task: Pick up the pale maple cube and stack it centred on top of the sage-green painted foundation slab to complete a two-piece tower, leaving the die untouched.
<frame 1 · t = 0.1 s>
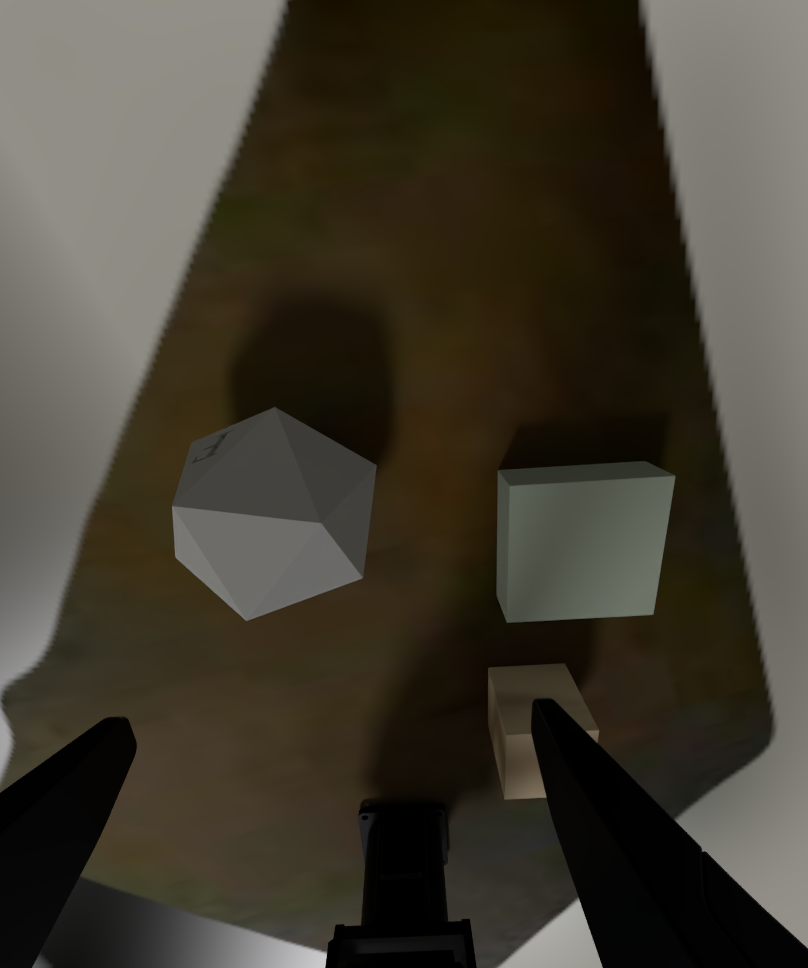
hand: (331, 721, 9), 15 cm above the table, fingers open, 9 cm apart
foundation slab: (564, 529, 24), on the table
die: (299, 481, 23), on the table
maple cube: (524, 694, 28), on the table
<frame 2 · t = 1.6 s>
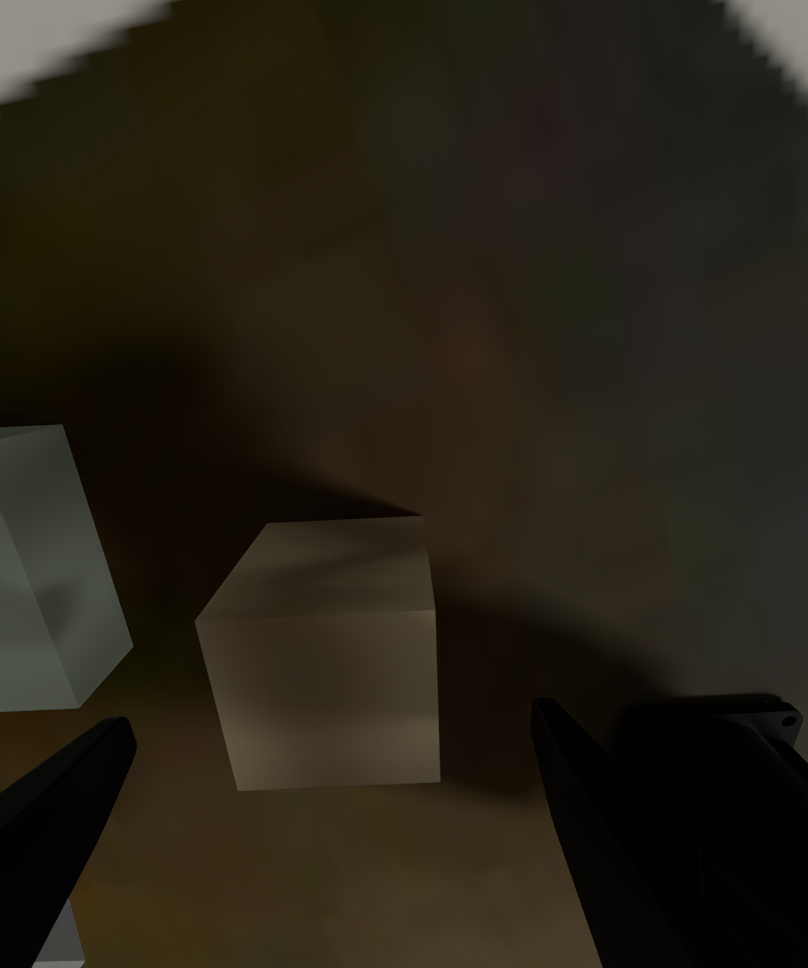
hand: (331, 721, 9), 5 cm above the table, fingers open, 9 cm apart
die: (24, 850, 19), on the table
maple cube: (352, 585, 14), on the table
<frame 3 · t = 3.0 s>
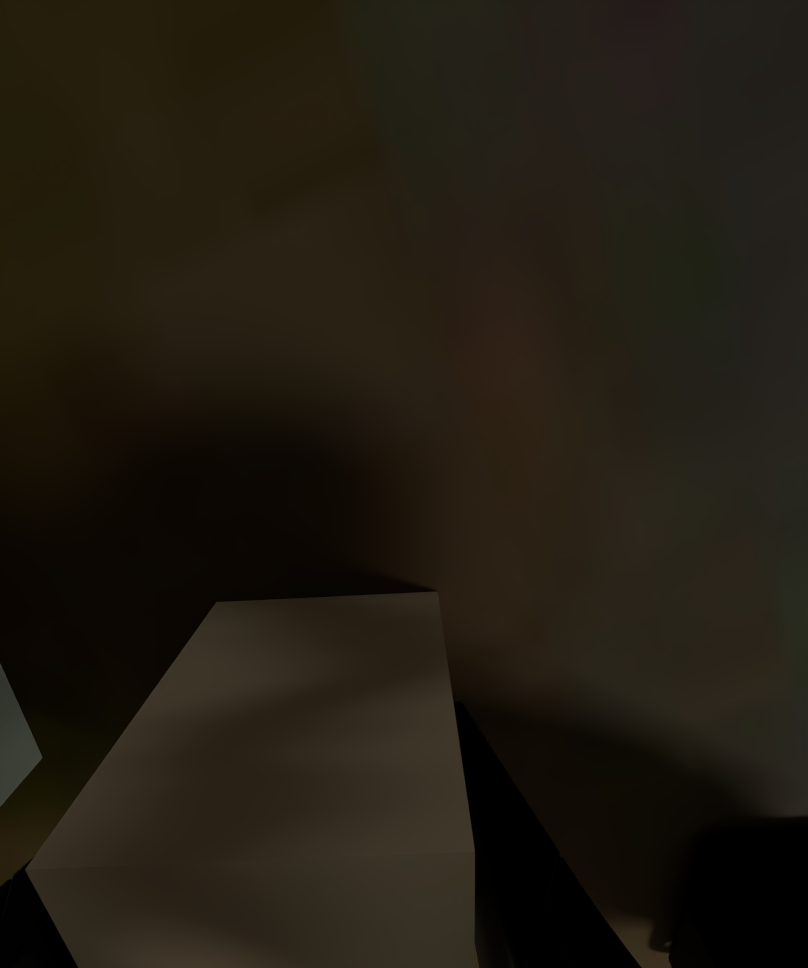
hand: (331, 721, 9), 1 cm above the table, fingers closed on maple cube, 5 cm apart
maple cube: (338, 684, 10), on the table, touching gripper
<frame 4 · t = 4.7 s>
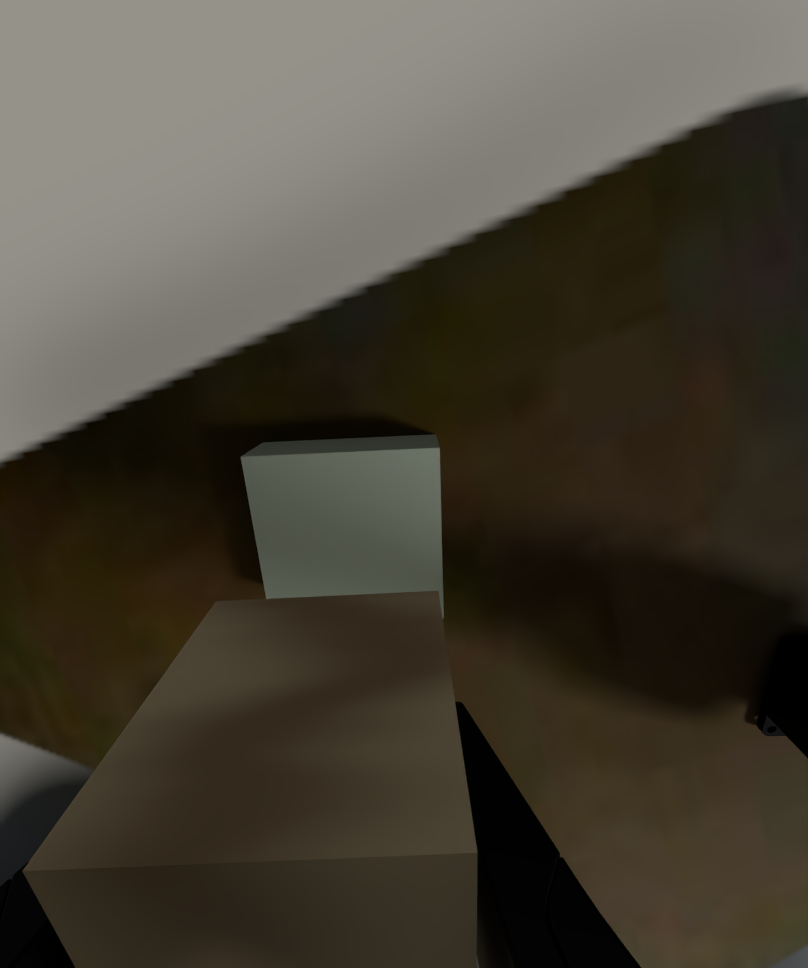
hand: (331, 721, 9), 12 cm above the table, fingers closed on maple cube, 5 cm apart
foundation slab: (357, 515, 21), on the table
maple cube: (338, 683, 10), point 11 cm above the table, touching gripper
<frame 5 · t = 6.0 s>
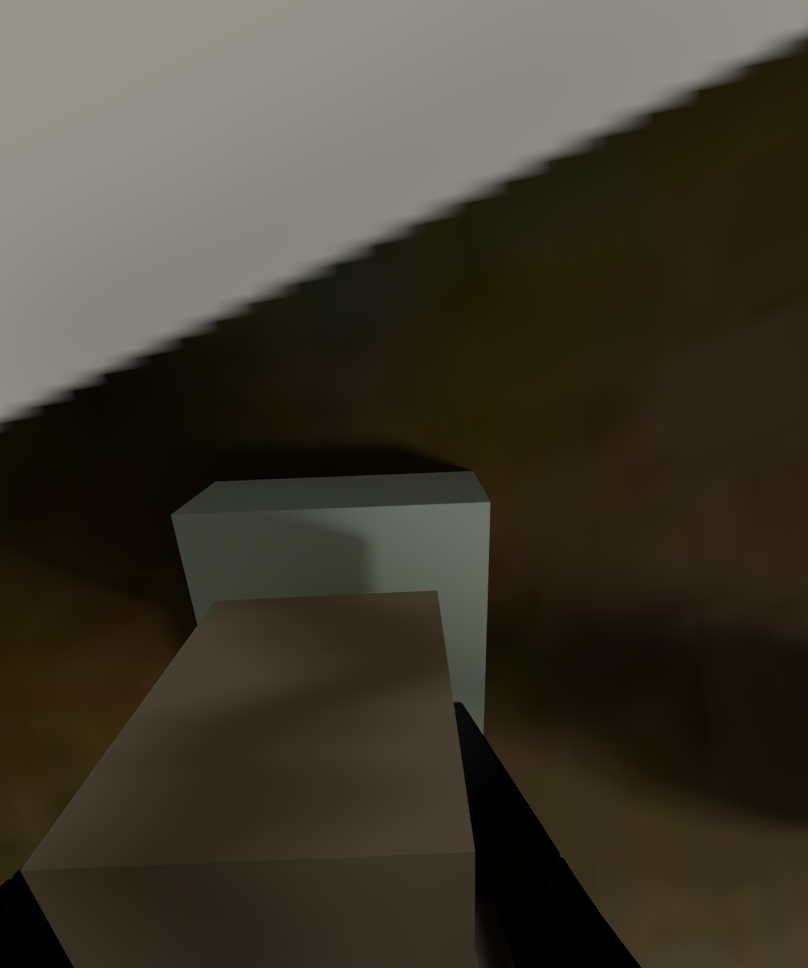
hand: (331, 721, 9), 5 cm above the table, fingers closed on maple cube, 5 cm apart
foundation slab: (355, 581, 14), on the table
maple cube: (337, 683, 10), point 4 cm above the table, touching gripper
when the fingers open (5 cm above the table, at t = 6.6 s): maple cube drops 2 cm, resting on foundation slab.
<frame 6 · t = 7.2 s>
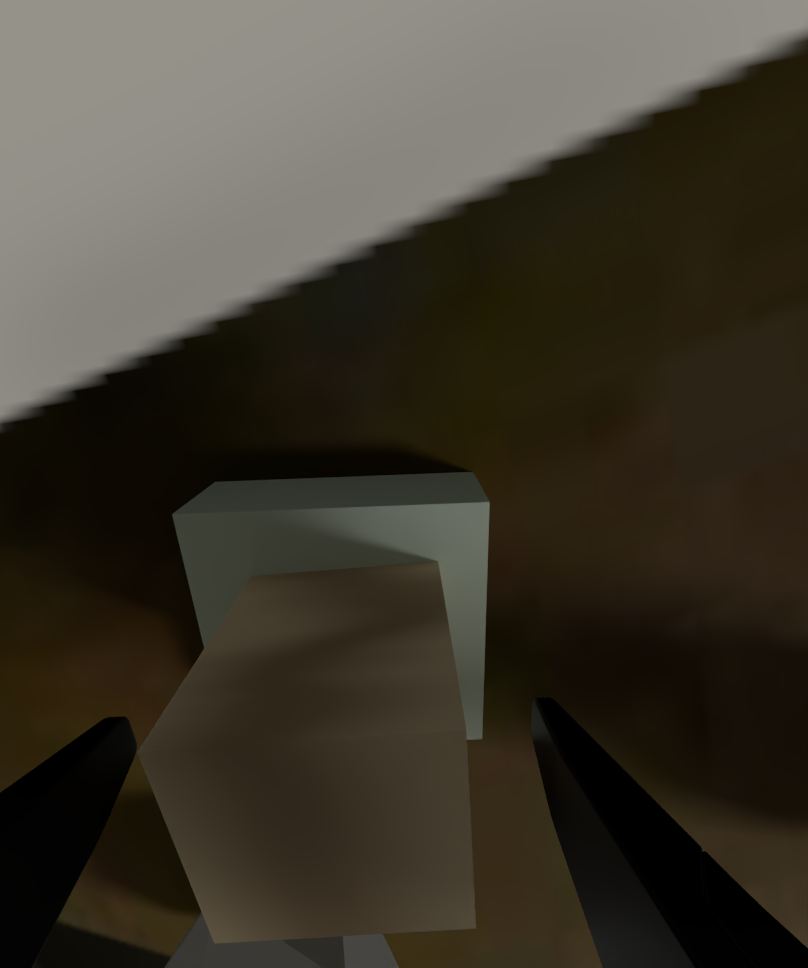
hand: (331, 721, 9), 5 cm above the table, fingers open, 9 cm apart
foundation slab: (355, 581, 14), on the table, touching maple cube
die: (298, 868, 19), on the table
maple cube: (355, 645, 12), point 2 cm above the table, touching foundation slab
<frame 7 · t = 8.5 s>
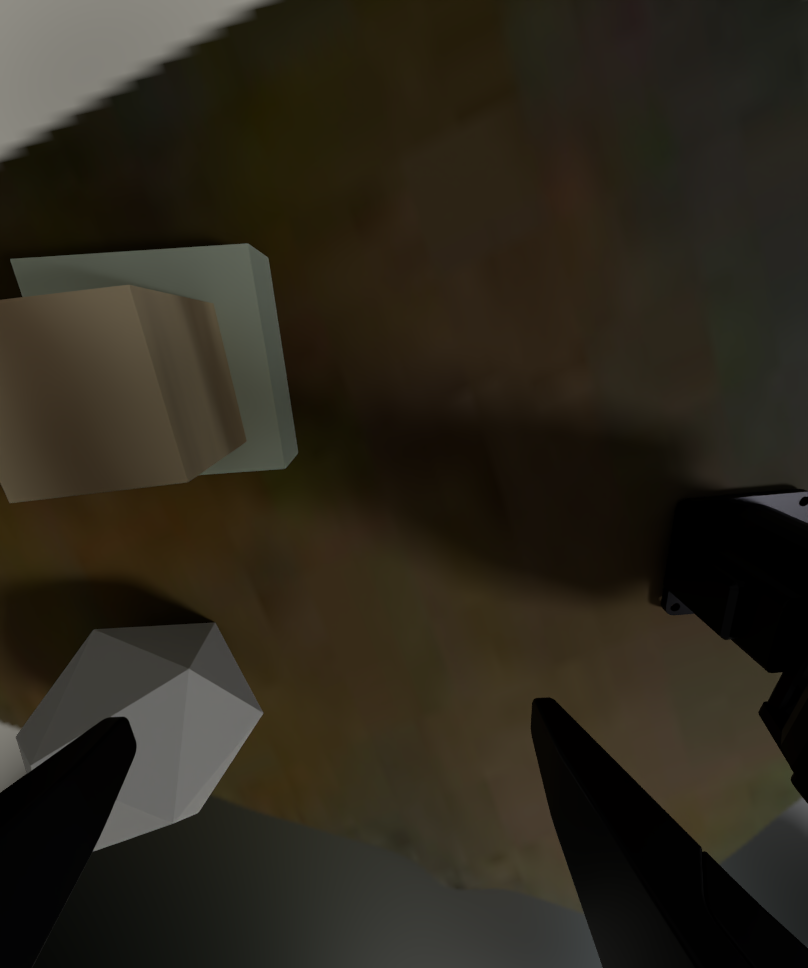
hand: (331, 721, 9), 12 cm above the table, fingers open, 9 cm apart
foundation slab: (195, 368, 18), on the table, touching maple cube
die: (189, 657, 23), on the table
maple cube: (164, 383, 15), point 2 cm above the table, touching foundation slab
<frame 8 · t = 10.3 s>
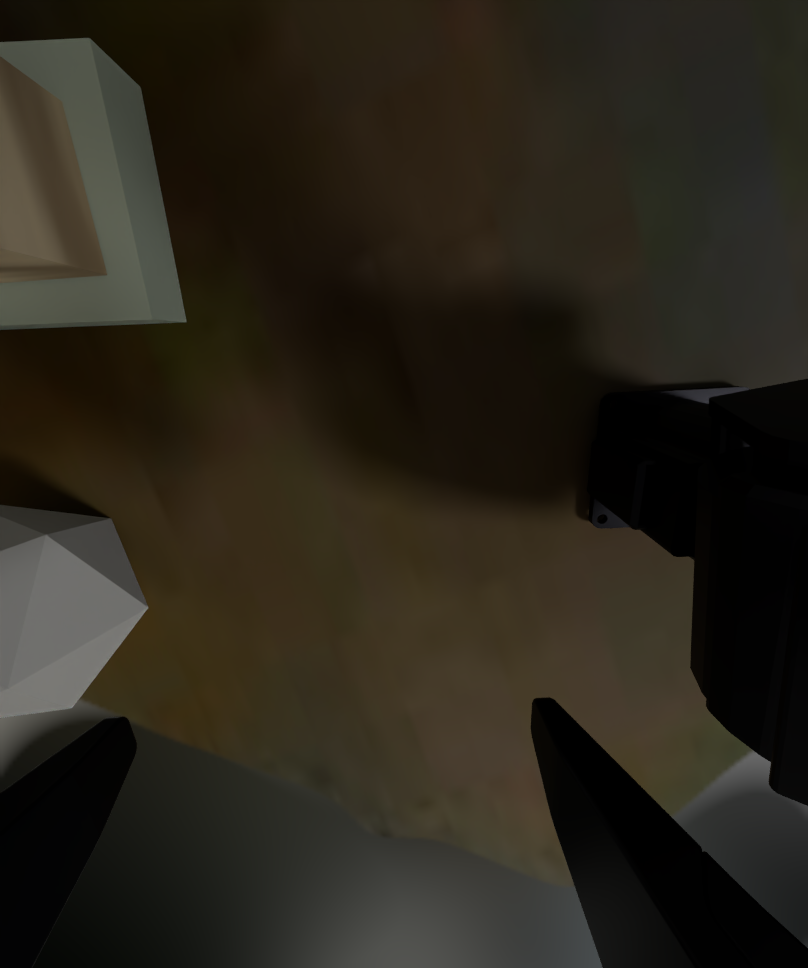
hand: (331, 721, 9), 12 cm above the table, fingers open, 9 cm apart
foundation slab: (73, 221, 17), on the table
die: (88, 558, 22), on the table
maple cube: (13, 198, 14), point 3 cm above the table
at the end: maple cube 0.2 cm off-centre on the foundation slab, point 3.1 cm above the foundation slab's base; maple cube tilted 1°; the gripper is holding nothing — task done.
